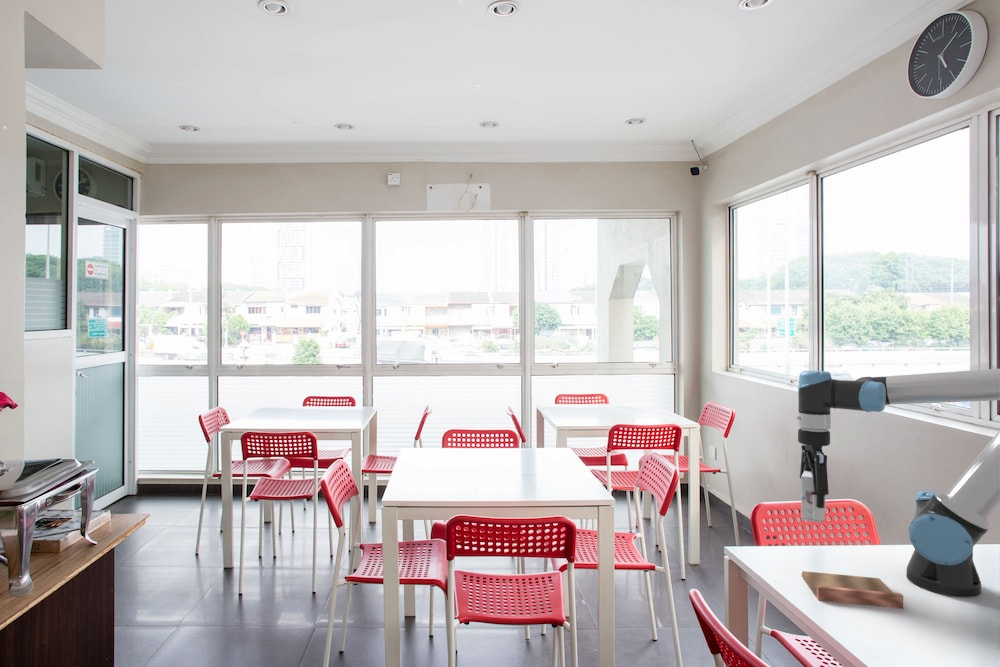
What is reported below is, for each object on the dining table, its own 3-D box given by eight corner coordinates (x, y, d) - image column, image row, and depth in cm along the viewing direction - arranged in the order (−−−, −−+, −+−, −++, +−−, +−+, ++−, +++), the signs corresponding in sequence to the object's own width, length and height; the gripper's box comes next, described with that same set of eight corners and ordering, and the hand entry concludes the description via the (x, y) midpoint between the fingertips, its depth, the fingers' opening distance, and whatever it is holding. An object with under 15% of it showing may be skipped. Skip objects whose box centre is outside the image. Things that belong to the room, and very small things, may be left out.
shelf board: (879, 584, 148) (879, 572, 148) (903, 608, 135) (903, 595, 135) (801, 576, 152) (802, 565, 152) (818, 600, 139) (818, 587, 139)
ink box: (804, 511, 161) (804, 468, 161) (824, 514, 158) (825, 471, 158) (800, 520, 154) (800, 475, 153) (822, 523, 151) (822, 477, 151)
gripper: (788, 422, 167) (787, 500, 167) (810, 435, 146) (809, 525, 146) (817, 423, 165) (816, 502, 166) (843, 437, 144) (842, 528, 144)
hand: (813, 513), depth 156 cm, fingers closed on ink box, 9 cm apart
